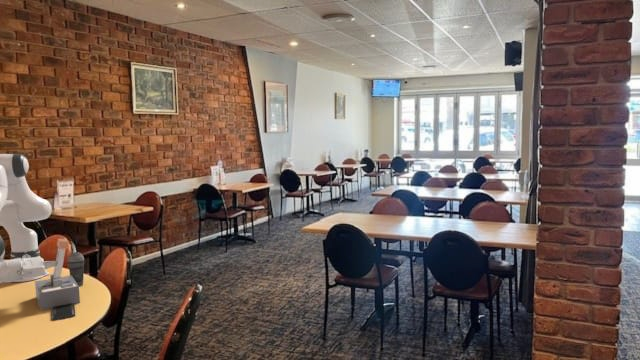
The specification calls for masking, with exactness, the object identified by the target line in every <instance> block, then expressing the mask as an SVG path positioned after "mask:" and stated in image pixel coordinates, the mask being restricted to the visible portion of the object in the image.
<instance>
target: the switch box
mask: <svg viewBox="0 0 640 360" xmlns="http://www.w3.org/2000/svg"><path fill="white" fill-rule="evenodd" d="M53 274H54V273H51V274H50V273H49V276H50V277H49V278H48V279H43V280H42V279H41V280H38V281H37V280H36V281H35V280H34V281H35V282H34V283H35V284H34V285H35V286H34V287H35V295H36V296H35V297H36V300H37V303H38V307H39V309H40V311H46V310H52V307H54V306H60V305H66V304H72V303H73V304H74V305H75V304H80V303H81V297H80V286H78V284H77V283H76V281H75V280H74V278H73V277H72V275H70V274H69V275H66V276H65V275H64V276H61V278H60V279H56V280H53V279H52V278H53Z"/></svg>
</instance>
